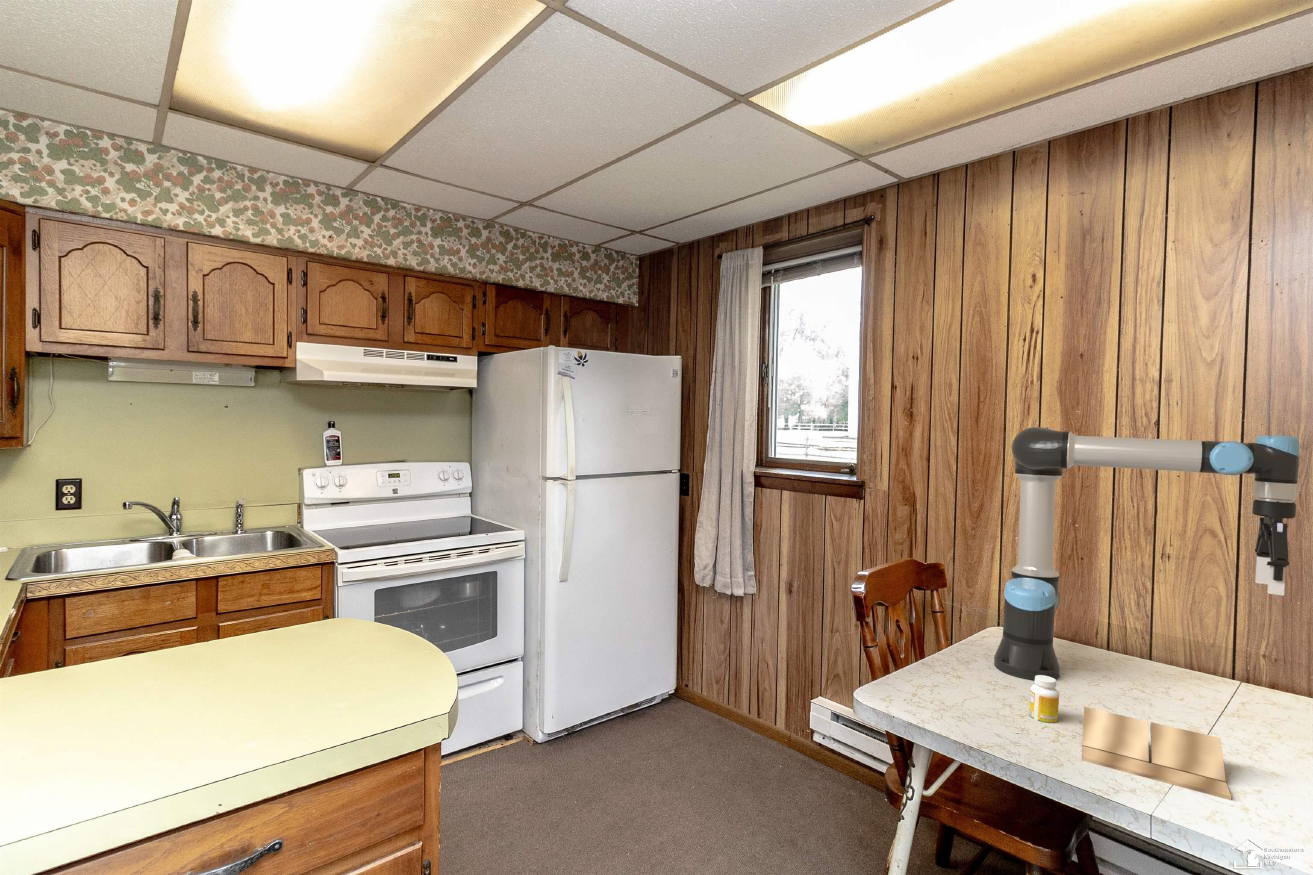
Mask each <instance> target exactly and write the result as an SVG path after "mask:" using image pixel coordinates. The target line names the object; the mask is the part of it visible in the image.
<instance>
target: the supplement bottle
mask: <svg viewBox="0 0 1313 875" xmlns="http://www.w3.org/2000/svg"><path fill="white" fill-rule="evenodd" d="M1056 687H1057V679H1056V680H1055V679H1054V678H1052V677H1049V676H1044V675H1036V676H1035V680H1034V684H1032V685H1031V686H1030V692H1029V693H1030V694H1029V695H1030V696H1029V708H1028V715H1029V717H1030V718H1031V719H1032V720H1034V721H1037V722H1041V723H1046V724H1056V723H1058V720H1059V705H1060V704H1059V703H1060V693H1059V691H1058V690H1057V689H1056Z"/></svg>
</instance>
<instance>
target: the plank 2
mask: <svg viewBox="0 0 1313 875" xmlns="http://www.w3.org/2000/svg"><path fill="white" fill-rule="evenodd" d="M1149 726H1150V730H1149V731H1150V756H1151V757H1150V759H1151V761H1150V763H1151V764H1155V765H1159V766H1163V767H1167V768H1171V769H1175V770H1179V771H1183V772H1186V773H1190V774H1194V775H1198V776H1202V777H1206V778H1210V779H1214V780H1218V781H1221V782H1225V783H1227V781H1226V773H1225V765H1224V756H1223V749H1222V748H1223V746H1222V738H1221V737H1218V736H1215V735H1210V734H1205V733H1201V732H1196V731H1192V730H1187V729H1183V728H1179V727H1175V726H1171V725H1166V724H1160V723H1156V722H1152V721H1150V725H1149Z"/></svg>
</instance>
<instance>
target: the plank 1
mask: <svg viewBox="0 0 1313 875" xmlns="http://www.w3.org/2000/svg"><path fill="white" fill-rule="evenodd" d="M1148 724H1149V721H1148V720H1144V719H1139V718H1136V717H1130V716H1126V715H1122V714H1118V713H1114V712H1109V711H1104V710H1099V709H1096V708H1091V707H1088V706H1084V708H1083V723H1082V739H1081V740H1082V741H1081V742H1082V743H1081V744H1082V745H1081V747H1082V746H1085V747H1089V748H1093V749H1097V750H1101V751H1105V752H1109V753H1112V754H1116V755H1120V756H1124V757H1128V758H1132V759H1136V760H1140V761H1144V762H1147V763H1150V762H1149V761H1150V758H1149V757H1150V756H1149V752H1150V750H1149V725H1148Z"/></svg>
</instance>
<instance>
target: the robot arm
mask: <svg viewBox="0 0 1313 875" xmlns="http://www.w3.org/2000/svg"><path fill="white" fill-rule="evenodd" d="M1011 453H1012V456H1013V458H1014V459H1015V460H1014V475H1015V476H1016V477H1017V478H1018V480H1019V481H1020V488H1019V491H1020V492H1019V494H1020V495H1019V518H1018V519H1019V520H1018V521H1019V522H1018V550H1017V552H1018V553H1017V554H1018V555H1017V564H1016V565H1014V566H1013V567H1012V568H1011V579H1008V581H1007V582H1006V583H1005V588H1004V590H1003V595H1004V605H1003V606H1004V608H1003V622H1002V638H1001V639H1000V642H999V645H998V646H997V648H996V652H995V654H994V657H993V665H994V667H995V668H996V669H997V670H999V671H1001V672H1002V673H1005V674H1009V675H1011V676H1014V677H1016V678H1017V677H1018V678H1021V679H1027V680H1031V681H1032V680H1033V681H1035V676H1036V675H1044V676H1049V677H1052V678H1054V679H1055V680H1056V681H1057V680H1058V679H1059V678H1060V671H1061V670H1060V665H1059V663H1058V662H1059V661H1058V658H1057V655H1056V652H1055V648H1054V631H1055V615H1056V612H1057V610H1058V608H1059V606H1060V602H1061V594H1060V591H1059V590H1060V589H1059V588H1060V586H1059V585H1060V574H1059V572H1058V571H1057V570H1055V568H1054V548H1055V547H1054V546H1055V545H1054V542H1055V517H1056V516H1055V515H1056V512H1055V511H1056V488H1057V486H1056V484H1057V481H1059V480H1060V479H1061V478H1063V471H1064V470H1063V469H1068V470H1069V469H1070V468H1071V467H1074V466H1083V467H1086V466H1087V467H1101V468H1119V469H1135V470H1136V469H1138V470H1153V471H1171V472H1172V471H1173V472H1187V473H1188V472H1190V473H1202V474H1218V475H1219V474H1220V475H1225V476H1239V475H1242V474H1247V475H1248V474H1251V475H1252V474H1253V475H1254V481H1253V491H1252V492H1253V495H1252V496H1253V498H1256V499H1254V500H1253V501H1252V513H1251V514H1253V515H1255V516H1258V517H1260V518H1259V527H1258V531H1257V532H1258V533H1257V539H1256V545H1255V548H1254V552H1255V554H1256V562H1255V564H1256V565H1255V577H1254V578H1255V579H1254V580H1255V581H1254V583H1255V584H1259V585H1260V584H1261V585H1267V591H1266V592H1267V594H1270V595H1275V596H1276V595H1277V596H1284V597H1285V585H1286V584H1285V583H1286V573H1287V572H1286V568H1287V566H1290V562H1289V561H1290V560H1289V548H1288V547H1289V546H1288V528H1289V526H1288V524H1287V523H1285V522H1284V521H1283V520H1284V519H1286V520H1287V519H1290V520H1291V519H1292V520H1293V519H1295V518H1296V515H1297V504H1296V502H1294V501H1296V500H1297V495H1298V493H1299V492H1301V487H1298V478H1299V468H1300V467H1299V465H1300V458H1301V455H1300V440H1299V439H1298V438H1297V437H1296V436H1293V435H1292V436H1291V435H1267V434H1266V435H1265V434H1264V435H1258V436H1257V438H1256V441H1255V442H1239V441H1231V440H1230V441H1218V440H1217V441H1216V440H1193V439H1192V440H1190V439H1189V440H1188V439H1166V438H1165V439H1163V438H1143V437H1142V438H1141V437H1118V436H1116V437H1114V436H1094V435H1093V436H1092V435H1091V436H1089V435H1088V436H1087V435H1075V434H1074V433H1073V432H1072V431H1064V430H1055V429H1051V428H1048V427H1043V426H1042V427H1041V426H1031V427H1028V428H1025V429H1023V430H1021V431H1019V432H1018V433H1017V434H1016V436H1015V437H1014V439H1013V440H1012V444H1011Z"/></svg>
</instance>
